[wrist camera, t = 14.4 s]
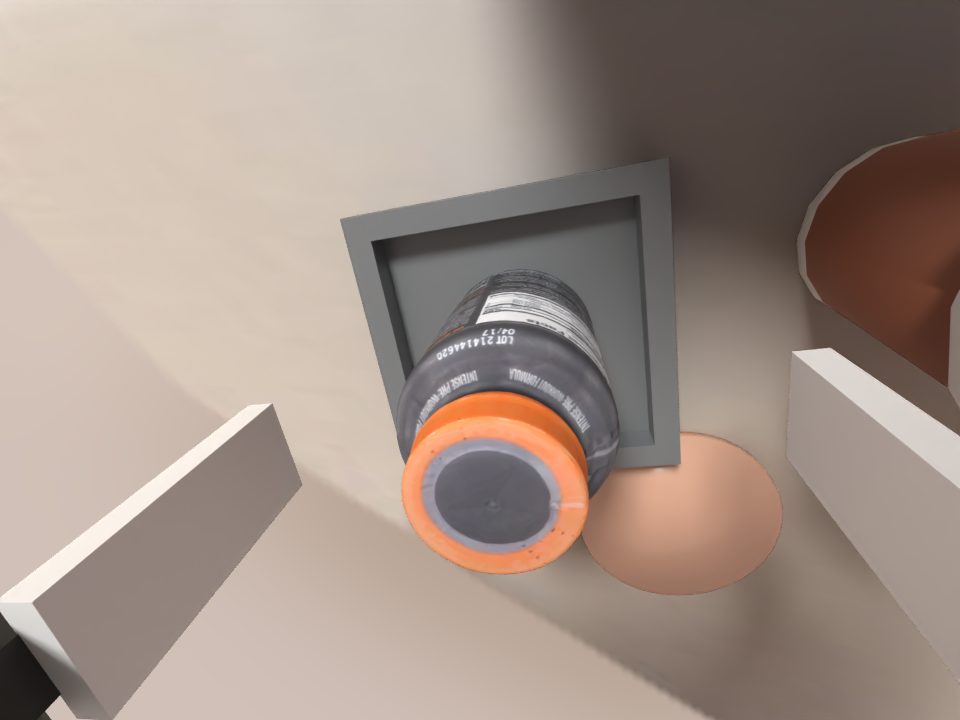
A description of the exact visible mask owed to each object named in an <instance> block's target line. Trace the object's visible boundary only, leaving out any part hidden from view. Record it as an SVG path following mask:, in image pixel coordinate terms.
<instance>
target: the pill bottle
mask: <svg viewBox="0 0 960 720" xmlns="http://www.w3.org/2000/svg"><path fill="white" fill-rule="evenodd" d="M396 426H397V439H398V444H399V449H400V452H401V455H402V458H403V460H404V463H405V465H406V466H405V469H404V473H403V478H402V501H403V506H404V509H405V512H406V515H407V517H408V519H409V521H410V523H411V525H412V527H413V528H414V530H415V531H416V533H417V535H418V536H419V537H420V538H421V539H422V540H423V541H424V542H425V543H426V544H427V545H428V546H429V547H430V548H431V549H432V550H434V551H435V552H436V553H438V554H439V555H441V556H442V557H444V558H445V559H447V560H449V561H451V562H453V563H455V564H457V565H459V566H461V567H464V568H467V569H470V570H473V571H478V572H484V573H489V574H516V573H522V572H527V571H531V570H535V569H538V568H540V567H543V566H545V565H547V564H549V563H551V562H553V561H554V560H556V559H557V558H559V557H560V556H561V555H562V554H564V553H565V552H566V551H567V550H568V549H569V548H570V547H571V546H572V545H573V543H574V542H575V541H576V539H577V538H578V537H579V536H580V533H581V531H582V529H583V527H584V524H585V521H586V518H587V514H588V508H589V500H590V499H591V498H592V497H593V496H594V495H595V494H596V493H597V491H598V490H599V489H600V487H601V486H602V485H603V483H604V481H605V480H606V479H607V477H608V476H609V474H610V471H611V469H612V466H613V464H614V461H615V458H616V455H617V451H618V445H619V430H620V425H619V419H618V411H617V407H616V404H615V400H614V397H613V394H612V391H611V387H610V384H609V380H608V377H607V373H606V370H605V366H604V363H603V359H602V356H601V353H600V350H599V346H598V343H597V339H596V336H595V332H594V329H593V325H592V321H591V318H590V315H589V313H588V310H587V308H586V306H585V305H584V303H583V301H582V300H581V299H580V297H579V296H578V295H577V294H576V292H575V291H574V290H573V289H572V288H570V287H569V286H568V285H566V284H565V283H564V282H562V281H561V280H559V279H557V278H555V277H554V276H552V275H549V274H547V273H544V272H540V271H536V270H528V269H516V270H507V271H503V272H500V273H496V274H493V275H491V276H489V277H488V278H486V279H484V280H482V281H481V282H479V283H478V284H477V285H475V286H474V287H473V288H471V289H470V291H469V292H468V293H467V294H466V295H465V296H464V298H463V299H462V300H461V301H460V303H459V304H458V305H457V307H456V308H455V310H454V311H453V312H452V314H451V315H450V316H449V318H448V319H447V321H446V322H445V324H444V325H443V327H442V328H441V330H440V331H439V333H438V334H437V336H436V337H435V338H434V340H433V341H432V343H431V344H430V346H429V347H428V349H427V350H426V352H425V353H424V355H423V356H422V357H421V359H420V360H419V362H418V363H417V365H416V366H415V367H414V369H413V370H412V372H411V374H410V375H409V377H408V379H407V381H406V383H405V385H404V388H403V390H402V393H401V395H400V398H399V402H398V407H397V417H396Z"/></svg>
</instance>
